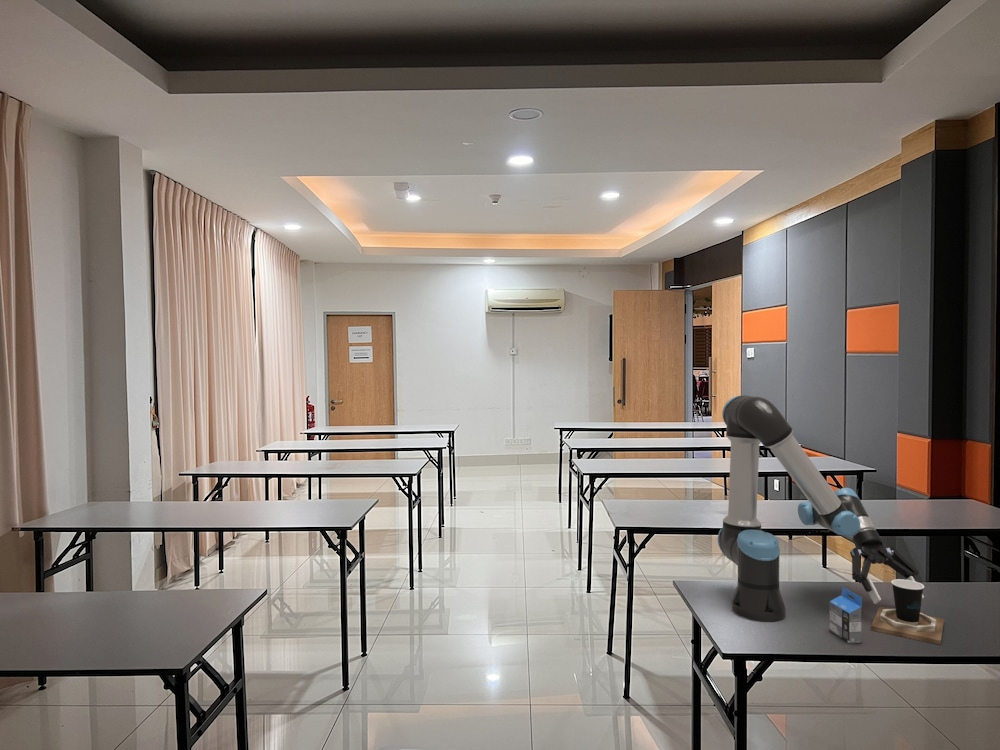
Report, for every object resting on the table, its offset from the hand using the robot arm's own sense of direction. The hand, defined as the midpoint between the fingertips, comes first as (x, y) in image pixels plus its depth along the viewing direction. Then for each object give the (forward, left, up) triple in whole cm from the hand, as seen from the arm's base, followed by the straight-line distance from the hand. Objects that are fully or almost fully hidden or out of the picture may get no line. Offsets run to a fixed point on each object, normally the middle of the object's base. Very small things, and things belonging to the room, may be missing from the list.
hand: (899, 600), depth 184 cm
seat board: (+2, -2, -6) cm, 7 cm away
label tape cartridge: (-11, -20, -6) cm, 24 cm away
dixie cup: (+2, -2, -5) cm, 6 cm away
